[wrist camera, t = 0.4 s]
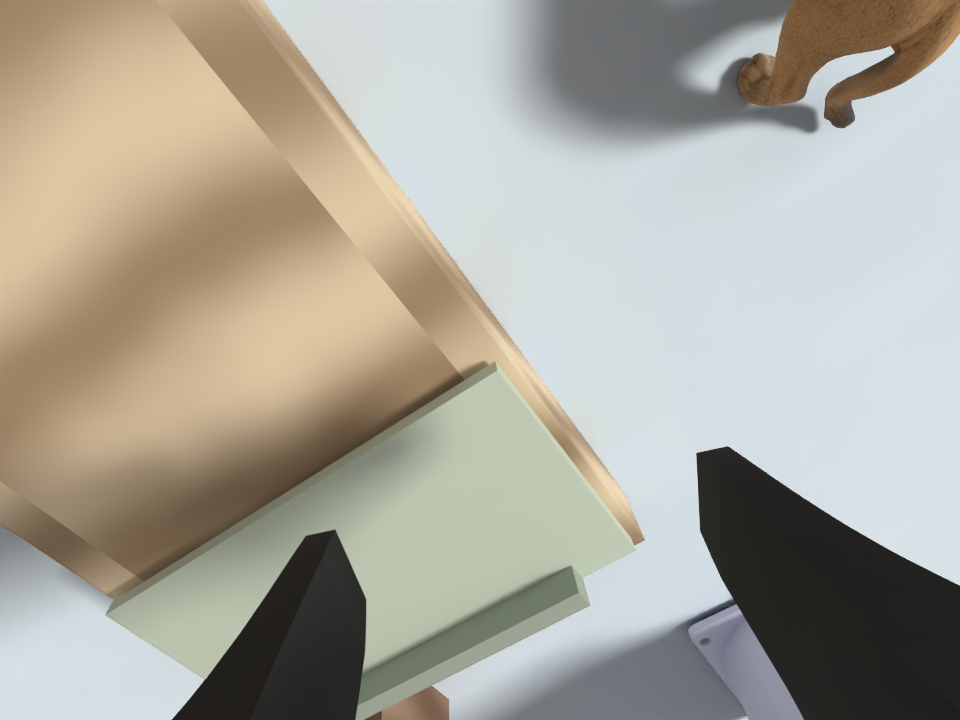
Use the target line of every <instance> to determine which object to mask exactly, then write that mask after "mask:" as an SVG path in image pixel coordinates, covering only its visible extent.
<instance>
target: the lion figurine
mask: <svg viewBox="0 0 960 720" xmlns="http://www.w3.org/2000/svg"><path fill="white" fill-rule="evenodd" d="M959 34H960V0H793V1H792V3H791V5H790V7H789V9H788V12H787V14H786V17H785V19H784V21H783V25H782V29H781V33H780V37H779V43H778V48H777V52H776V57H774V56H769V55H765V54H762V53H758V54H755V55H754V56H753V57H752V58H751V60H750V61H748V62H747V63H746V64H745V65H744V66H743V67H742V69H741V72H740V74H739V76H738V79H737V85H738V89H739V91H740V93H741V95H742V96H743V97H744V98H745V100H746V101H748V102H750V103H753V104H756V105H761V106H772V105H778V104H787V103H793V102H796V101H798V100H801V99H802V98H804V96H805V94H806V91H807V87H808V84H809V82H810V80H811V78H812V77H813V75H814V74H815V73H816V72H817V71H818V70H819V69H820V68H822V67H823V66H824V65H825V64H826V63H827V62H829V61H831V60H833V59H835V58H839V57H842V56H846V55H851V54H857V53H863V52H869V51H874V50H879V49H883V48H886V47H889V46H891V47H892V48H893V50H894V51H895V53H894V54H892V55H891V56H889V57H887V58H886V59H884V60H882V61H880V62H879V63H877V64H875V65H873V66H871V67H869V68H867V69H865V70H863V71H862V72H860V73H858V74H856V75H853V76H851V77H848V78H846V79H845V80H843V81H841V82H839V83H837V84H836V85H835V86H833V87H832V88H831V89H830V90H829V92H828V94H827V96H826V98H825V111H824V118H825V119H827V120H829V121H830V122H831V123H832V125H833V126H835V127H837V128H845V127H846V126H848V125H850V124H851V123H852V122H854V121H855V115H854V111H853V109H852V105H851V100H856V99H861V98H865V97H869V96H872V95H875V94H878V93H881V92H883V91H886V90H889V89H891V88H894V87H896V86H898V85H900V84H902V83H904V82H905V81H907V80H909V79H910V78H912V77H913V76H915V75H916V74H918V73H919V72H921V71H922V70H924V69H925V68H926V67H927V66H929V65H930V64H931V63H933V62H934V61H935V60H936V59H937V58H938V57H939V56H941V55H942V54H943V53H944V52H945V51H946V50H947V48H948V47H949V46H950V45H951V44H952V43H953V42H954V40H955V39H956V38H957V36H958V35H959Z"/></svg>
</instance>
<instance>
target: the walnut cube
mask: <svg viewBox="0 0 960 720" xmlns="http://www.w3.org/2000/svg"><path fill="white" fill-rule="evenodd" d="M364 720H449V699H447V698H446V697H445V696H444V695H442V694H441V693H440V692H439V691H438V690H436V689H435V688H434V687H433V686H429V687H428V688H426V689H424V690H422V691H420V692H418V693H416V694H414V695H412V696H410V697H408V698H406V699H404V700H402V701H400V702H398V703H396V704H394V705H392V706H390V707H388V708H386V709H384V710H382V711H380V712H378V713H376V714H374V715H372V716H370V717H368V718H366V719H364Z"/></svg>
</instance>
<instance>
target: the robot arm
mask: <svg viewBox="0 0 960 720" xmlns="http://www.w3.org/2000/svg"><path fill="white" fill-rule="evenodd" d="M697 474H698V494H699V515H700V531H701V534H702V536H703V538H704V540H705V543H706V545H707V547H708V550H709V552H710V554H711V557H712V559H713V561H714V563H715V565H716V567H717V570H718V572H719V574H720V576H721V578H722V580H723V582H724V584H725V585H726V587H727V589H728V591H729V592H730V594H731V596H732V597H733V599H734V601H735V602H736V604H735V605H733V606H731V607H729V608H727V609H725V610H723V611H721V612H719V613H716V614H714V615H712V616H710V617H708V618H706V619H704V620H702V621H700V622H698V623H695V624H693V625H692V626H691V627H690V628H689V629H688V634H689V636H690V639H691V640H692V642H693V643H694V644H695V646H696V647H697V648H698V649H699V651H700V652H701V653H702V654H703V656H704V657H705V658H706V659H707V661H708V662H709V663H710V664H711V666H712V667H713V668H714V670H715V671H716V672H717V673H718V675H719V676H720V677H721V678H722V680H723V681H724V682H725V683H726V685H727V686H728V687H729V688H730V690H731V691H732V692H733V694H734V695H735V696H736V697H737V699H738V700H739V701H740V702H741V705H742V707H743V709H744V711H745V713H746V715H747V717H748V719H749V720H960V586H959V585H957V584H955V583H953V582H951V581H949V580H947V579H945V578H943V577H941V576H939V575H937V574H935V573H933V572H931V571H929V570H927V569H925V568H923V567H921V566H919V565H917V564H915V563H913V562H911V561H909V560H907V559H905V558H903V557H901V556H900V555H898V554H896V553H894V552H892V551H890V550H888V549H887V548H885V547H883V546H881V545H880V544H878V543H876V542H874V541H873V540H871V539H869V538H867V537H866V536H864V535H862V534H860V533H859V532H857V531H855V530H853V529H852V528H850V527H848V526H847V525H845V524H843V523H842V522H840V521H839V520H837V519H835V518H834V517H832V516H831V515H829V514H827V513H826V512H824V511H823V510H821V509H820V508H818V507H817V506H815V505H813V504H812V503H810V502H809V501H807V500H806V499H804V498H803V497H801V496H800V495H798V494H797V493H795V492H794V491H792V490H791V489H789V488H788V487H786V486H785V485H783V484H782V483H780V482H779V481H777V480H776V479H774V478H773V477H772V476H770V475H769V474H767V473H766V472H764V471H763V470H761V469H760V468H759V467H757V466H756V465H754V464H753V463H751V462H750V461H749V460H747V459H746V458H744V457H743V456H741V455H740V454H738V453H737V452H735V451H734V450H732V449H731V448H730V447H723V448H718V449H713V450H709V451H704V452H699V453H697ZM365 644H366V597H365V595H364V593H363V591H362V588H361V586H360V584H359V582H358V579H357V577H356V575H355V573H354V570H353V568H352V566H351V563H350V561H349V559H348V557H347V554H346V552H345V550H344V548H343V545H342V543H341V541H340V539H339V536H338V534H337V532H336V530H330V531H326V532H321V533H316V534H311V535H307V536H305V538H304V539H303V541H302V542H301V543H300V545H299V546H298V548H297V549H296V551H295V552H294V554H293V555H292V557H291V558H290V560H289V561H288V563H287V564H286V566H285V567H284V569H283V570H282V572H281V573H280V575H279V576H278V578H277V579H276V581H275V582H274V584H273V585H272V587H271V588H270V590H269V592H268V593H267V595H266V596H265V598H264V599H263V600H262V602H261V603H260V605H259V606H258V608H257V609H256V611H255V612H254V613H253V615H252V616H251V618H250V619H249V621H248V622H247V624H246V625H245V627H244V628H243V629H242V631H241V632H240V634H239V635H238V636H237V638H236V639H235V640H234V642H233V643H232V644H231V646H230V647H229V649H228V650H227V651H226V653H225V654H224V655H223V657H222V658H221V659H220V661H219V662H218V663H217V665H216V666H215V667H214V669H213V670H212V671H211V673H210V674H209V675H208V677H207V678H206V679H205V680H204V682H203V683H202V684H201V686H200V687H199V688H198V689H197V691H196V692H195V693H194V694H193V695H192V697H191V698H190V699H189V700H188V701H187V703H186V704H185V705H184V706H183V707H182V709H181V710H180V711H179V712H178V713H177V714H176V716H175V717H174V718H173V719H172V720H356V713H357V706H358V700H359V693H360V686H361V679H362V671H363V664H364V657H365Z"/></svg>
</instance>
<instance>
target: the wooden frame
mask: <svg viewBox="0 0 960 720" xmlns="http://www.w3.org/2000/svg"><path fill="white" fill-rule="evenodd" d="M494 361H496V362H497V364H498V365H499V366H500V368H501V369H502V370H503V371H504V373H505V374H506V375H507V377H508V378H509V379H510V381H511V382H512V383H513V385H514V386H515V387H516V388H517V390H518V391H519V392H520V394H521V395H522V396H523V398H524V399H525V400H526V401H527V403H528V404H529V405H530V407H531V408H532V409H533V411H534V412H535V413H536V415H537V416H538V417H539V418H540V420H541V421H542V422H543V424H544V425H545V426H546V428H547V429H548V430H549V431H550V433H551V434H552V435H553V437H554V438H555V439H556V441H557V442H558V443H559V445H560V446H561V447H562V448H563V450H564V451H565V452H566V454H567V455H568V456H569V458H570V459H571V460H572V462H573V463H574V464H575V465H576V467H577V468H578V469H579V471H580V472H581V473H582V475H583V476H584V477H585V478H586V480H587V481H588V482H589V484H590V485H591V486H592V488H593V489H594V490H595V492H596V493H597V494H598V495H599V497H600V498H601V499H602V501H603V502H604V503H605V505H606V506H607V507H608V508H609V510H610V511H611V512H612V514H613V515H614V516H615V518H616V519H617V520H618V522H619V523H620V524H621V525H622V527H623V528H624V529H625V531H626V532H627V533H628V535H629V536H630V537H631V539H632V542H633V544H634V545H636V544H638V543H640V542H642V541H644V537H643V535H642V533H641V530H640V528H639V526H638V523H637V521H636V519H635V516H634V514H633V512H632V510H631V507H630V505H629V503H628V500H627V498H626V496H625V494H624V492H623V491H622V489H621V488H620V487H619V485H618V484H617V483H616V481H615V480H614V479H613V477H612V476H611V474H610V473H609V472H608V470H607V469H606V468H605V466H604V465H603V464H602V462H601V461H600V459H599V458H598V457H597V455H596V454H595V453H594V451H593V450H592V449H591V447H590V446H589V445H588V443H587V442H586V440H585V439H584V438H583V436H582V435H581V434H580V432H579V431H578V430H577V428H576V427H575V425H574V424H573V423H572V421H571V420H570V419H569V417H568V416H567V415H566V413H565V412H564V410H563V409H562V408H561V406H560V405H559V404H558V402H557V401H556V400H555V398H554V397H553V396H552V394H551V393H550V391H549V390H548V389H547V387H546V386H545V385H544V383H543V382H542V381H541V379H540V378H539V376H538V375H537V374H536V372H535V371H534V370H533V368H532V367H531V366H530V364H529V363H528V361H527V360H526V359H525V357H524V356H523V355H522V353H521V352H520V351H519V349H518V348H517V347H516V345H515V344H514V342H513V341H512V340H511V338H510V337H509V336H508V334H507V333H506V332H505V330H504V329H503V327H502V326H501V325H500V323H499V322H498V321H497V319H496V318H495V317H494V315H493V314H492V312H491V311H490V310H489V308H488V307H487V306H486V304H485V303H484V302H483V300H482V299H481V298H480V296H479V295H478V293H477V292H476V291H475V289H474V288H473V287H472V285H471V284H470V283H469V281H468V280H467V278H466V277H465V276H464V274H463V273H462V272H461V270H460V269H459V268H458V266H457V265H456V263H455V262H454V261H453V259H452V258H451V257H450V255H449V254H448V253H447V251H446V250H445V249H444V247H443V246H442V244H441V243H440V242H439V240H438V239H437V238H436V236H435V235H434V234H433V232H432V231H431V229H430V228H429V227H428V225H427V224H426V223H425V221H424V220H423V219H422V217H421V216H420V214H419V213H418V212H417V210H416V209H415V208H414V206H413V205H412V204H411V202H410V201H409V199H408V198H407V197H406V195H405V194H404V193H403V191H402V190H401V189H400V187H399V186H398V185H397V183H396V182H395V180H394V179H393V178H392V176H391V175H390V174H389V172H388V171H387V170H386V168H385V167H384V165H383V164H382V163H381V161H380V160H379V159H378V157H377V156H376V155H375V153H374V152H373V150H372V149H371V148H370V146H369V145H368V144H367V142H366V141H365V140H364V138H363V137H362V136H361V134H360V133H359V131H358V130H357V129H356V127H355V126H354V125H353V123H352V122H351V121H350V119H349V118H348V116H347V115H346V114H345V112H344V111H343V110H342V108H341V107H340V106H339V104H338V103H337V101H336V100H335V99H334V97H333V96H332V95H331V93H330V92H329V91H328V89H327V88H326V87H325V85H324V84H323V82H322V81H321V80H320V78H319V77H318V76H317V74H316V73H315V72H314V70H313V69H312V67H311V66H310V65H309V63H308V62H307V61H306V59H305V58H304V57H303V55H302V54H301V52H300V51H299V50H298V48H297V47H296V46H295V44H294V43H293V42H292V40H291V39H290V38H289V36H288V35H287V33H286V32H285V31H284V29H283V28H282V27H281V25H280V24H279V23H278V21H277V20H276V18H275V17H274V16H273V14H272V13H271V12H270V10H269V9H268V8H267V6H266V5H265V3H264V2H263V1H262V0H0V524H1V525H3V526H4V527H6V528H7V529H9V530H10V531H12V532H13V533H15V534H16V535H18V536H19V537H21V538H22V539H24V540H25V541H27V542H29V543H30V544H32V545H33V546H35V547H36V548H38V549H39V550H41V551H42V552H44V553H45V554H47V555H48V556H50V557H51V558H53V559H54V560H56V561H57V562H59V563H60V564H62V565H63V566H65V567H66V568H68V569H69V570H71V571H72V572H74V573H75V574H77V575H78V576H80V577H81V578H83V579H84V580H86V581H87V582H89V583H90V584H92V585H93V586H95V587H96V588H98V589H99V590H101V591H102V592H104V593H105V594H107V595H108V596H110V597H111V598H113V599H114V600H116V599H117V598H119V597H121V596H122V595H124V594H125V593H127V592H128V591H130V590H132V589H133V588H135V587H136V586H138V585H140V584H141V583H143V582H144V581H146V580H148V579H149V578H151V577H152V576H154V575H156V574H157V573H159V572H160V571H162V570H163V569H165V568H167V567H168V566H170V565H171V564H173V563H175V562H176V561H178V560H179V559H181V558H183V557H184V556H186V555H187V554H189V553H191V552H192V551H194V550H195V549H197V548H198V547H200V546H202V545H203V544H205V543H206V542H208V541H210V540H211V539H213V538H214V537H216V536H218V535H219V534H221V533H222V532H224V531H226V530H227V529H229V528H230V527H232V526H233V525H235V524H237V523H238V522H240V521H241V520H243V519H245V518H246V517H248V516H249V515H251V514H253V513H254V512H256V511H257V510H259V509H261V508H262V507H264V506H265V505H267V504H268V503H270V502H272V501H273V500H275V499H276V498H278V497H280V496H281V495H283V494H284V493H286V492H288V491H289V490H291V489H292V488H294V487H296V486H297V485H299V484H300V483H302V482H303V481H305V480H307V479H308V478H310V477H311V476H313V475H315V474H316V473H318V472H319V471H321V470H323V469H324V468H326V467H327V466H329V465H331V464H332V463H334V462H335V461H337V460H338V459H340V458H342V457H343V456H345V455H346V454H348V453H350V452H351V451H353V450H354V449H356V448H358V447H359V446H361V445H362V444H364V443H366V442H367V441H369V440H370V439H372V438H374V437H375V436H377V435H378V434H380V433H381V432H383V431H385V430H386V429H388V428H389V427H391V426H393V425H394V424H396V423H397V422H399V421H401V420H402V419H404V418H405V417H407V416H409V415H410V414H412V413H413V412H415V411H416V410H418V409H420V408H421V407H423V406H424V405H426V404H428V403H429V402H431V401H432V400H434V399H436V398H437V397H439V396H440V395H442V394H444V393H445V392H447V391H448V390H450V389H451V388H453V387H455V386H456V385H458V384H459V383H461V382H463V381H464V380H466V379H467V378H469V377H471V376H472V375H474V374H475V373H477V372H479V371H480V370H482V369H483V368H485V367H486V366H488V365H490V364H491V363H493V362H494Z"/></svg>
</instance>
